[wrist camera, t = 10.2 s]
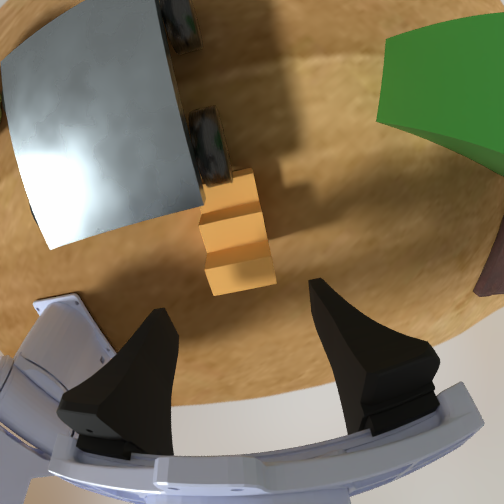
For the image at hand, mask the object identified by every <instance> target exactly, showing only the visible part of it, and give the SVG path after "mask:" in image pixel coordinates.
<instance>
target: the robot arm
mask: <svg viewBox="0 0 504 504" xmlns="http://www.w3.org/2000/svg"><path fill="white" fill-rule="evenodd" d="M308 282H309V292H310V302H311V312H312V316H313V320H314V323H315V327H316V330H317V332H318V335H319V337H320V340H321V342H322V345H323V347H324V350H325V352H326V354H327V357H328V359H329V362H330V364H331V367H332V370H333V373H334V377H335V381H336V384H337V388H338V392H339V396H340V400H341V405H342V409H343V413H344V418H345V422H346V428H347V432H348V435H346V436H343V437H339V438H335V439H331V440H328V441H323V442H319V443H314V444H310V445H305V446H300V447H294V448H289V449H282V450H276V451H269V452H261V453H252V454H242V455H222V456H174V453H173V445H172V432H171V395H172V387H173V381H174V375H175V369H176V363H177V358H178V348H179V335H178V333H177V331H176V329H175V327H174V325H173V323H172V322H171V320H170V318H169V316H168V314H167V312H166V310H165V308H159V309H154V310H153V311H152V312H151V313H150V315H149V316H148V317H147V318H146V319H145V321H144V322H143V323H142V325H141V326H140V327H139V328H138V330H137V331H136V332H135V333H134V335H133V336H132V337H131V338H130V339H129V340H128V342H127V343H126V344H125V345H124V346H123V347H122V349H121V350H120V351H119V352H118V353H116V352H115V351H114V349H113V348H112V346H111V345H110V344H109V342H108V341H107V339H106V338H105V336H104V335H103V334H102V332H101V331H100V329H99V328H98V326H97V325H96V323H95V322H94V320H93V318H92V317H91V315H90V314H89V312H88V310H87V309H86V307H85V306H84V304H83V302H82V301H81V299H80V297H79V296H78V295H77V294H75V293H73V294H68V295H63V296H57V297H52V298H47V299H42V300H37V301H34V302H33V306H34V308H35V309H36V311H37V312H38V314H39V315H40V316H39V318H38V319H37V321H36V322H35V324H34V325H33V327H32V328H31V330H30V332H29V333H28V335H27V336H26V338H25V339H24V341H23V343H22V344H21V346H20V348H19V349H18V351H17V353H16V354H15V356H14V358H11V357H10V356H9V355H6V356H0V422H1V423H3V424H4V425H5V426H6V427H8V428H9V429H10V430H12V431H13V432H14V433H16V434H17V435H18V436H20V437H22V438H23V439H24V440H26V441H27V442H29V443H30V444H32V445H33V446H35V447H36V448H38V449H35V448H32V447H30V446H28V445H27V444H25V443H24V442H22V441H21V440H19V439H18V438H17V437H15V436H14V435H12V434H11V433H10V432H8V431H7V430H6V429H4V428H3V427H2V426H1V425H0V504H23V503H24V499H25V496H26V493H27V490H28V487H29V484H30V481H31V479H32V478H37V477H47V476H54V475H56V476H58V477H60V478H61V479H63V480H66V481H67V482H69V483H71V484H73V485H75V486H77V487H80V488H82V489H86V490H88V491H91V492H95V493H98V494H101V495H104V496H107V497H111V498H115V499H118V500H122V501H126V502H130V503H135V504H351V502H350V497H351V496H354V495H357V494H360V493H363V492H366V491H369V490H371V489H374V488H377V487H379V486H382V485H385V484H387V483H389V482H392V481H394V480H397V479H399V478H401V477H403V476H406V475H408V474H410V473H412V472H414V471H416V470H418V469H420V468H422V467H424V466H426V465H428V464H430V463H432V462H434V461H435V460H437V459H439V458H441V457H443V456H445V455H446V454H448V453H450V452H452V451H453V450H455V449H457V448H458V447H460V446H461V445H463V444H464V443H465V442H466V441H467V440H468V439H470V438H471V437H472V436H473V435H474V434H475V433H476V432H477V431H478V430H479V429H480V428H481V427H482V426H484V421H483V419H482V417H481V415H480V413H479V411H478V409H477V407H476V405H475V403H474V401H473V399H472V398H471V396H470V394H469V392H468V390H467V389H466V387H465V385H464V383H463V382H459V383H457V384H455V385H453V386H451V387H450V388H448V389H446V390H444V391H442V392H441V393H439V394H438V395H437V396H436V395H435V393H434V390H435V386H434V384H433V382H432V380H433V378H434V376H435V374H436V372H437V370H438V368H439V365H440V358H439V357H438V355H437V354H436V352H435V350H434V349H433V348H432V346H431V345H430V344H429V343H428V342H427V341H424V340H420V339H417V338H413V337H410V336H407V335H404V334H401V333H399V332H396V331H394V330H392V329H390V328H387V327H385V326H383V325H381V324H379V323H377V322H376V321H374V320H372V319H371V318H369V317H367V316H366V315H364V314H363V313H361V312H360V311H359V310H357V309H356V308H355V307H353V306H352V305H351V304H349V303H348V302H347V301H346V300H345V299H343V298H342V297H341V296H340V295H339V294H338V293H337V292H335V291H334V290H333V289H332V288H331V287H330V286H329V285H328V284H327V283H326V282H325V281H324V280H323V279H322V278H317V279H312V280H308ZM111 358H112V359H111ZM110 359H111V360H110Z"/></svg>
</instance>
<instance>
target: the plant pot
mask: <svg viewBox="0 0 504 504" xmlns="http://www.w3.org/2000/svg"><path fill="white" fill-rule="evenodd" d="M1 99H2V98H1V94H0V121H1V115H2V112H1Z"/></svg>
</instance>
